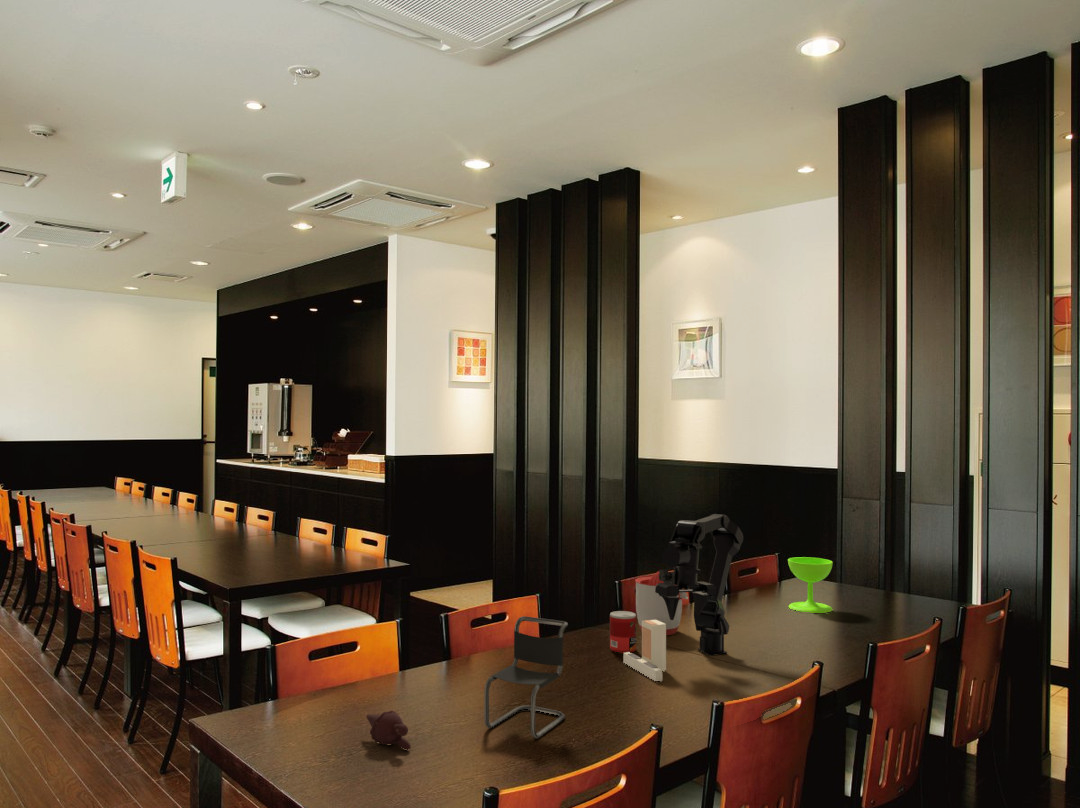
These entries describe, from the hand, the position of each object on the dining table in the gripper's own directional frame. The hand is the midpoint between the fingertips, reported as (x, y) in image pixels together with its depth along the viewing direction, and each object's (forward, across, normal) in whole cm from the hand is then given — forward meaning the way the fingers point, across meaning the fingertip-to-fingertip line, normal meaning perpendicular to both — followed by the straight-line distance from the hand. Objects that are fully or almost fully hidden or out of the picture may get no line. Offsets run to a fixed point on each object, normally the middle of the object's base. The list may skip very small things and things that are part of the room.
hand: (683, 619), depth 227 cm
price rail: (+14, +14, +1) cm, 20 cm away
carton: (+13, +10, 0) cm, 17 cm away
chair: (+17, +61, +17) cm, 66 cm away
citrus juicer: (+12, -18, -29) cm, 37 cm away
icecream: (+20, +92, +11) cm, 95 cm away
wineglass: (+7, -89, -26) cm, 93 cm away
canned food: (+14, +6, -19) cm, 24 cm away
